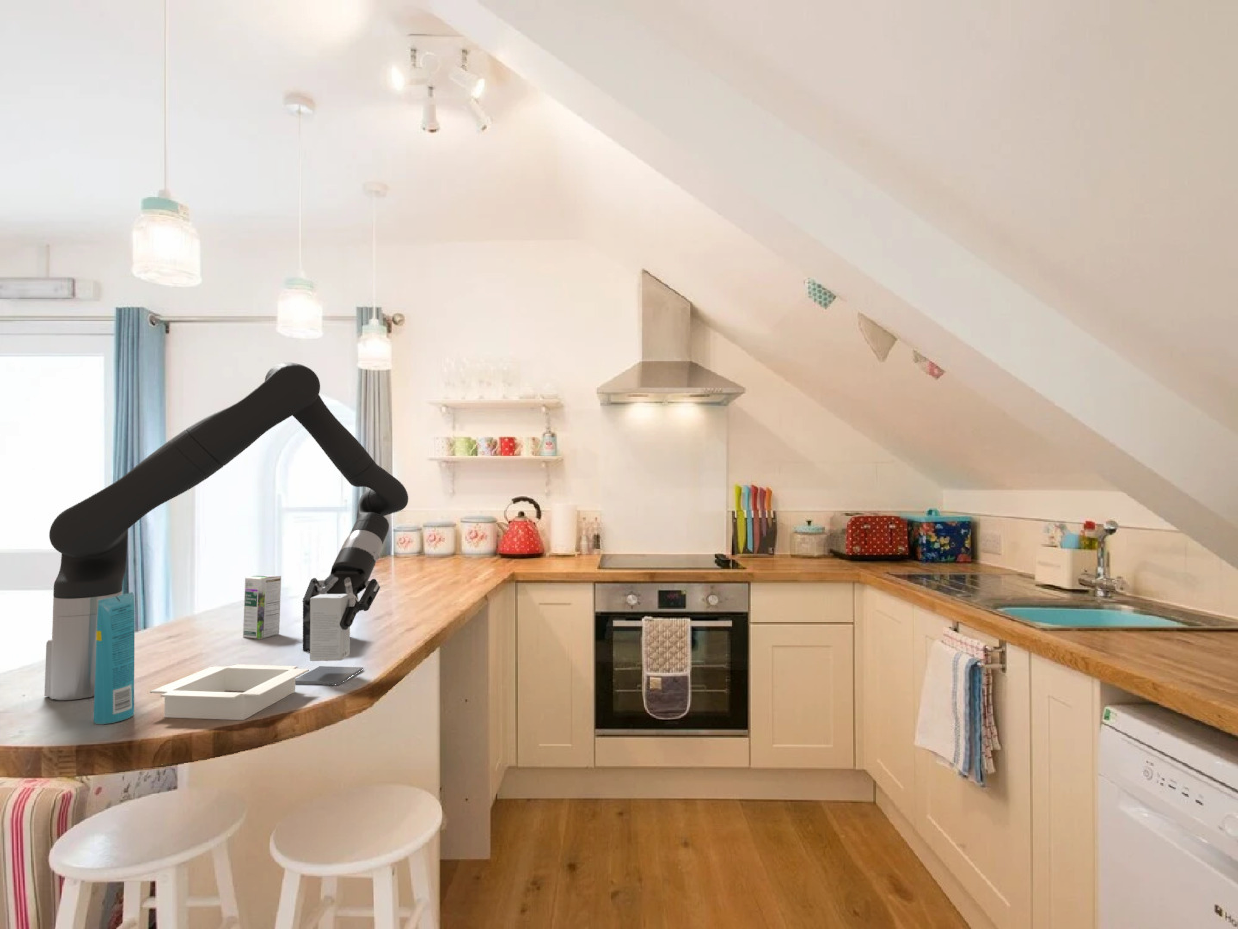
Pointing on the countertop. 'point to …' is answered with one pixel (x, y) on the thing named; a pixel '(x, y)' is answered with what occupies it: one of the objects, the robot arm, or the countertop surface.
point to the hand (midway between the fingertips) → (325, 626)
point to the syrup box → (262, 606)
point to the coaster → (327, 675)
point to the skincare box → (328, 628)
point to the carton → (209, 700)
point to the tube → (114, 660)
